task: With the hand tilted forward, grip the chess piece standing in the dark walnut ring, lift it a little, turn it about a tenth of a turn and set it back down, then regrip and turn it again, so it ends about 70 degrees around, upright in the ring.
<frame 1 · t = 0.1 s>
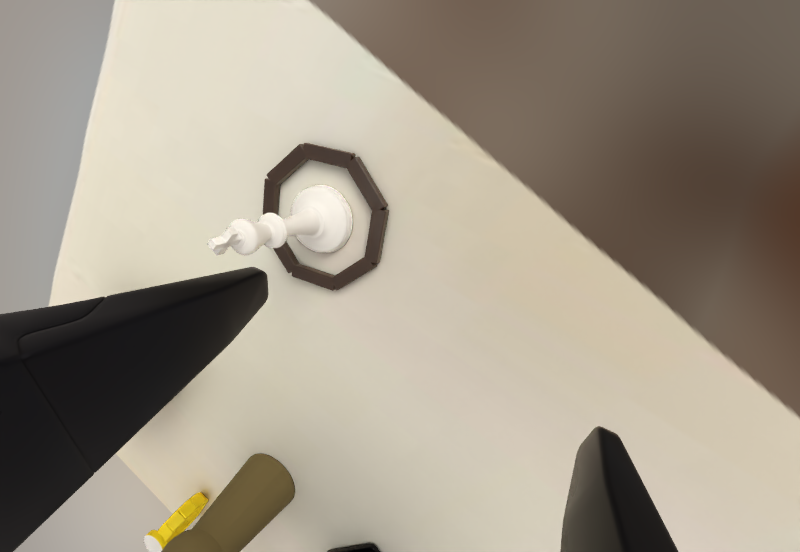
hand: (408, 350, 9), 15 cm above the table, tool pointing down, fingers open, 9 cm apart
cork: (271, 477, 38), on the table
spot ring: (323, 219, 27), on the table
watch: (202, 499, 44), on the table
chess piece: (324, 218, 27), resting in spot ring
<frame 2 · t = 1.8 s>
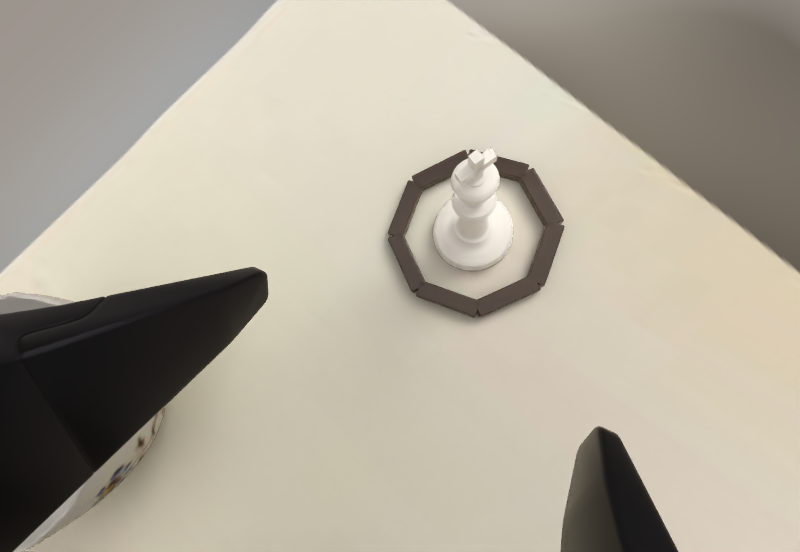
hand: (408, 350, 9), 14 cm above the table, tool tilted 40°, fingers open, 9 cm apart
teacup: (147, 384, 26), on the table
spot ring: (472, 232, 23), on the table
chess piece: (472, 233, 24), resting in spot ring
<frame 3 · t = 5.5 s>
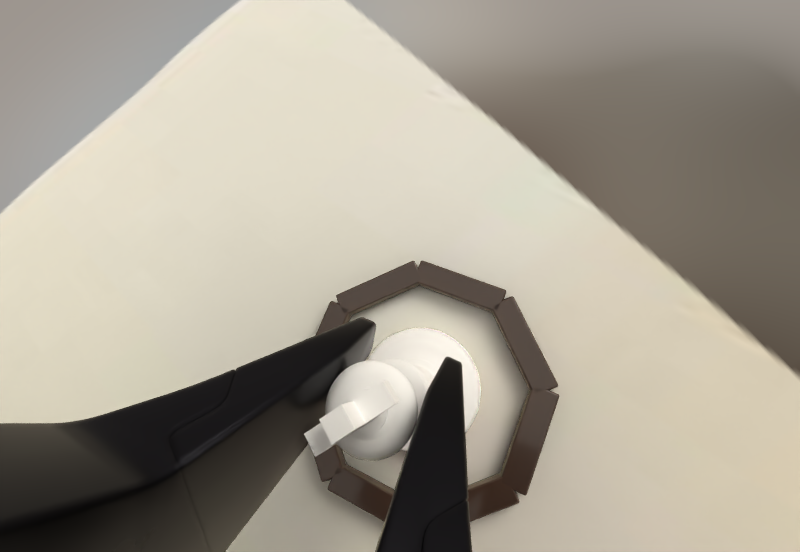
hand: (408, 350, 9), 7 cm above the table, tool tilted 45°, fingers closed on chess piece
spot ring: (420, 387, 15), on the table
chess piece: (420, 387, 16), resting in spot ring, touching gripper
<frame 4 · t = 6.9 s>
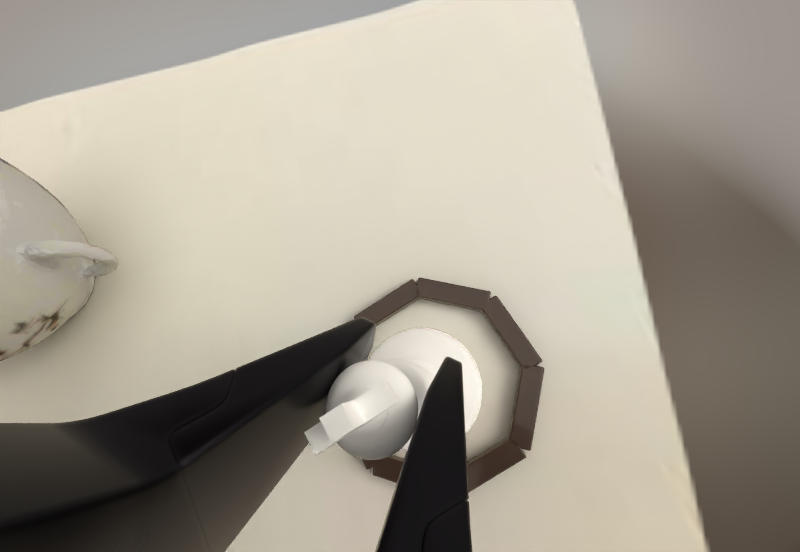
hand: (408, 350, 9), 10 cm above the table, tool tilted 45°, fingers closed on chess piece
teacup: (79, 284, 25), on the table
spot ring: (434, 380, 19), on the table
chess piece: (422, 387, 16), point 3 cm above the table, touching gripper
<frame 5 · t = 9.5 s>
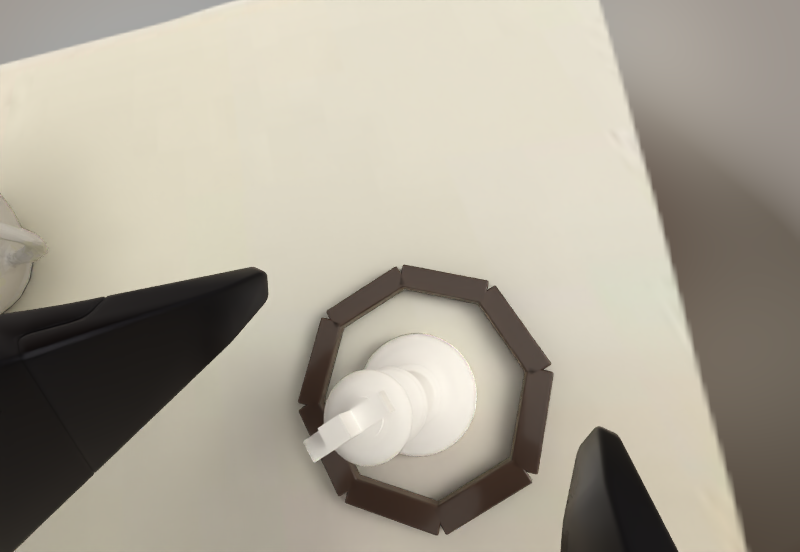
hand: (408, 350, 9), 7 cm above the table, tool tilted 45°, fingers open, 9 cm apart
teacup: (14, 274, 22), on the table
spot ring: (420, 387, 16), on the table
chess piece: (418, 391, 16), resting in spot ring
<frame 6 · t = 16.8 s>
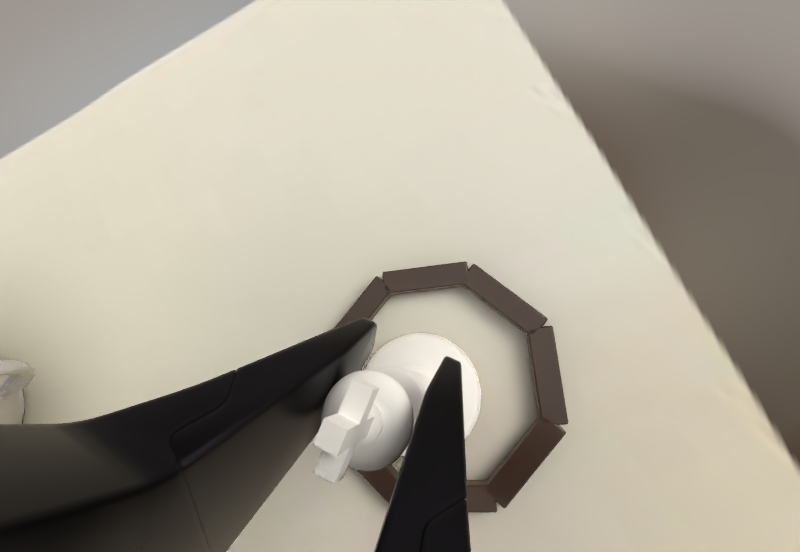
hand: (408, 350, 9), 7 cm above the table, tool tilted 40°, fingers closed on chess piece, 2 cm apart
teacup: (8, 406, 21), on the table
spot ring: (436, 380, 16), on the table
chess piece: (420, 392, 16), point 1 cm above the table, touching gripper
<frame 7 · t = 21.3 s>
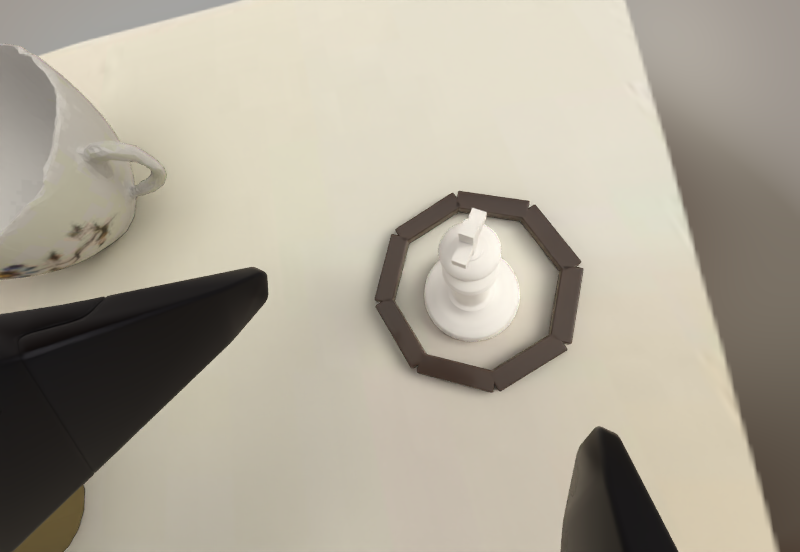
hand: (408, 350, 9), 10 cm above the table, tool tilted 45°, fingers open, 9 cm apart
cork: (44, 506, 22), on the table
teacup: (119, 213, 26), on the table
spot ring: (474, 286, 20), on the table
chess piece: (470, 294, 20), resting in spot ring
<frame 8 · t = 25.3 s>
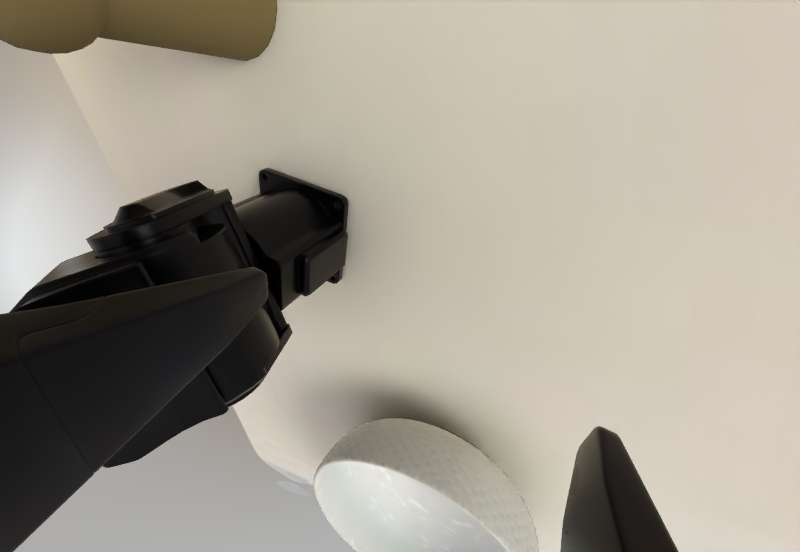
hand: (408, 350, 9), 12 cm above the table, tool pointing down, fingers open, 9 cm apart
cereal bowl: (443, 458, 32), on the table
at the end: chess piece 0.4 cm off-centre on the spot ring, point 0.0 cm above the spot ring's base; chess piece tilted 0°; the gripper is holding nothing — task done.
